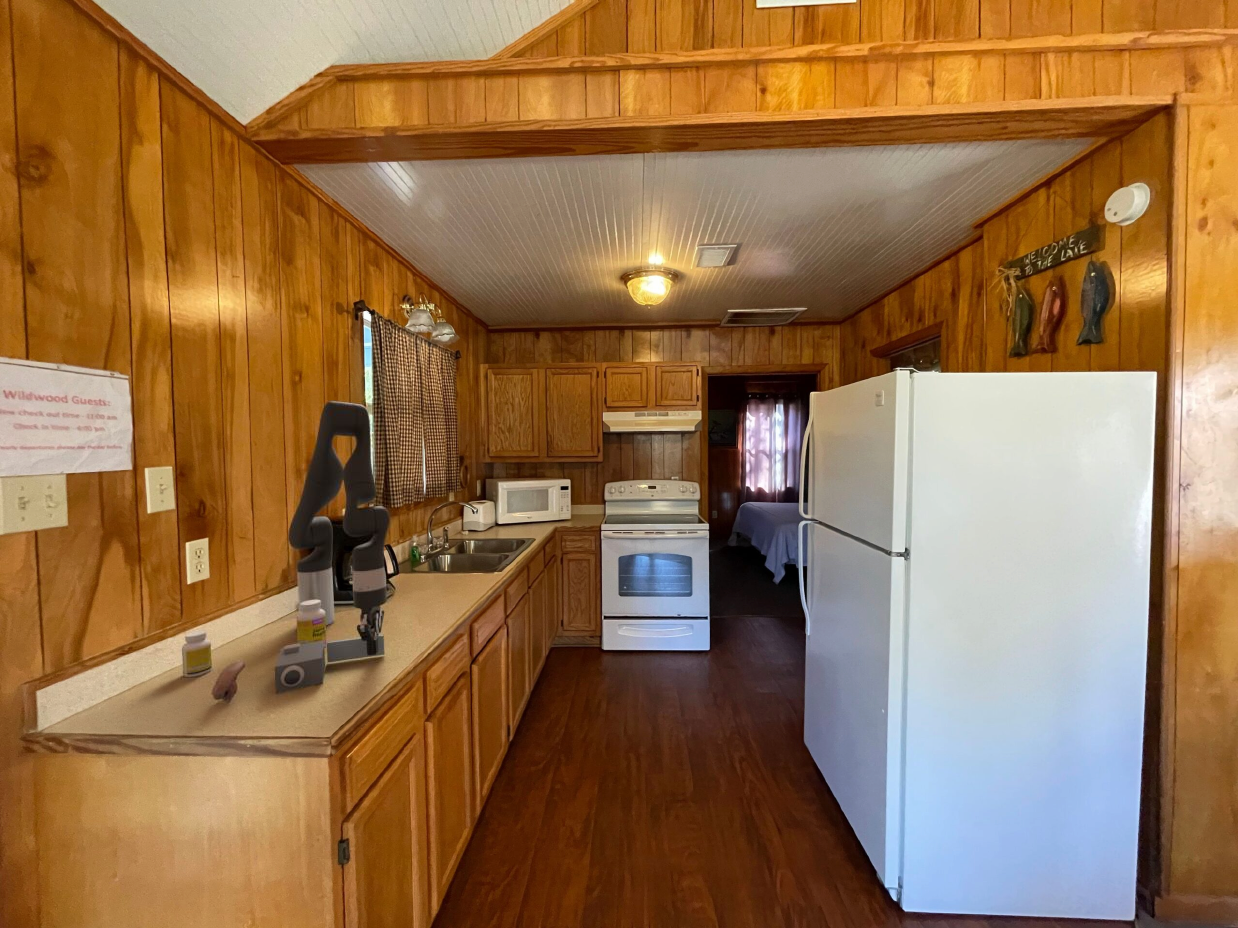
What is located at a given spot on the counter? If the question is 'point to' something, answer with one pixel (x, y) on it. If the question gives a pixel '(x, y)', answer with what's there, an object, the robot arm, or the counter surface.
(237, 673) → the mushroom
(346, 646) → the door
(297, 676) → the camera box
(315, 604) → the supplement bottle
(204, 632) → the supplement bottle
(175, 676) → the counter surface
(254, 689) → the counter surface
